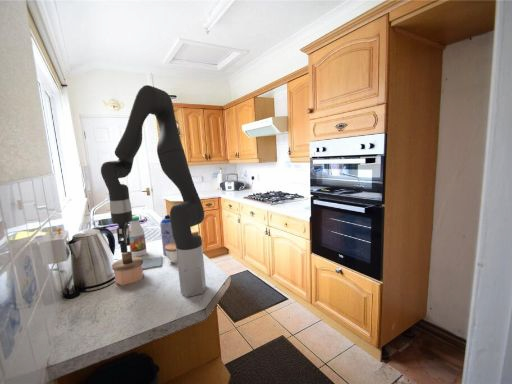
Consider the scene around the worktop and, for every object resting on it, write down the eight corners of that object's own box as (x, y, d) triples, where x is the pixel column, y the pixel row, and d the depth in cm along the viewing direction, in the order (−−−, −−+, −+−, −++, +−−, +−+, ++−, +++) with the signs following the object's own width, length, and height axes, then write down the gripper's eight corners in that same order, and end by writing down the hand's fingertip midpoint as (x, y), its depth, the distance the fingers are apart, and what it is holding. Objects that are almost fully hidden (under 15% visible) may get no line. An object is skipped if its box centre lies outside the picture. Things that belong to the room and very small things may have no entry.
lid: (142, 267, 103) (140, 255, 102) (109, 273, 99) (107, 261, 99) (144, 257, 114) (142, 246, 113) (115, 261, 110) (113, 250, 109)
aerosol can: (179, 254, 131) (175, 216, 128) (163, 257, 129) (159, 218, 125) (178, 249, 139) (174, 212, 136) (162, 251, 136) (158, 215, 133)
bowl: (141, 281, 104) (140, 267, 104) (114, 286, 101) (112, 272, 100) (143, 270, 114) (142, 258, 113) (118, 275, 111) (116, 262, 110)
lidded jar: (183, 265, 117) (181, 246, 116) (162, 264, 119) (159, 245, 118) (193, 256, 127) (191, 238, 126) (173, 255, 130) (171, 237, 128)
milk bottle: (127, 256, 132) (122, 218, 129) (139, 250, 139) (134, 214, 136) (138, 257, 129) (133, 219, 126) (150, 252, 136) (145, 215, 133)
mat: (161, 266, 118) (161, 265, 118) (135, 271, 114) (135, 269, 114) (161, 257, 128) (161, 256, 128) (137, 261, 124) (137, 260, 124)
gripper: (129, 213, 98) (133, 253, 100) (133, 206, 111) (137, 241, 114) (106, 215, 95) (112, 256, 98) (114, 208, 109) (118, 244, 111)
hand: (126, 248), depth 106 cm, fingers open, 8 cm apart
